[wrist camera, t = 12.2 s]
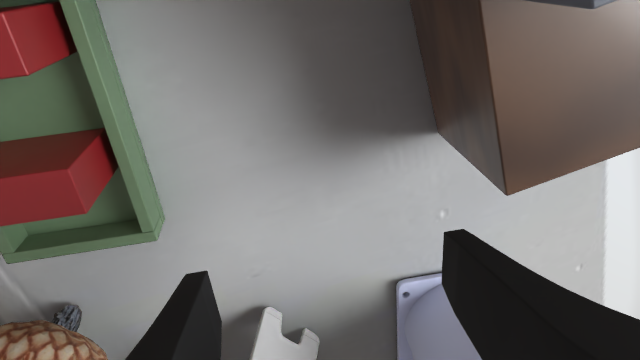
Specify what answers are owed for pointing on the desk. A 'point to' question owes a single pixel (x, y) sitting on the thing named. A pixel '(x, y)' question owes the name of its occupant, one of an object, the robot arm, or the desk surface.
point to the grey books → (576, 3)
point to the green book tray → (71, 116)
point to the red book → (53, 175)
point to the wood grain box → (532, 84)
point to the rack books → (33, 38)
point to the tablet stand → (281, 341)
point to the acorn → (48, 339)
